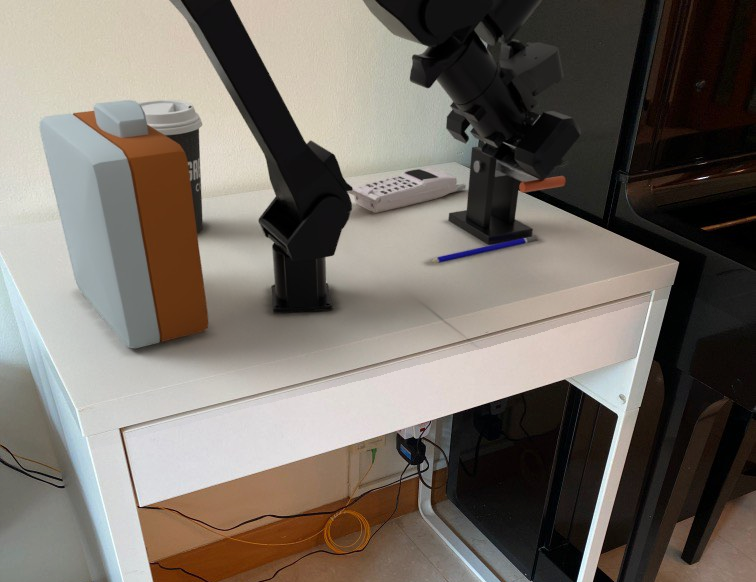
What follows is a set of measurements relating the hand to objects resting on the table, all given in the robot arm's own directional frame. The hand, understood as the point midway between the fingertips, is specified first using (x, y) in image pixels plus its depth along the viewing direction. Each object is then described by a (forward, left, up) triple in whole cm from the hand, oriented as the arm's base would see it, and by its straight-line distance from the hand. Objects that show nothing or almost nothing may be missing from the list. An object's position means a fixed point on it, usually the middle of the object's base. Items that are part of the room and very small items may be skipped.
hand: (543, 176), depth 94 cm
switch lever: (+5, +2, -2) cm, 6 cm away
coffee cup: (+13, +45, -10) cm, 48 cm away
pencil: (+2, +6, -10) cm, 12 cm away
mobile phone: (+21, +15, -10) cm, 28 cm away
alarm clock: (-12, +48, -10) cm, 50 cm away
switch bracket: (+9, +3, -10) cm, 14 cm away
